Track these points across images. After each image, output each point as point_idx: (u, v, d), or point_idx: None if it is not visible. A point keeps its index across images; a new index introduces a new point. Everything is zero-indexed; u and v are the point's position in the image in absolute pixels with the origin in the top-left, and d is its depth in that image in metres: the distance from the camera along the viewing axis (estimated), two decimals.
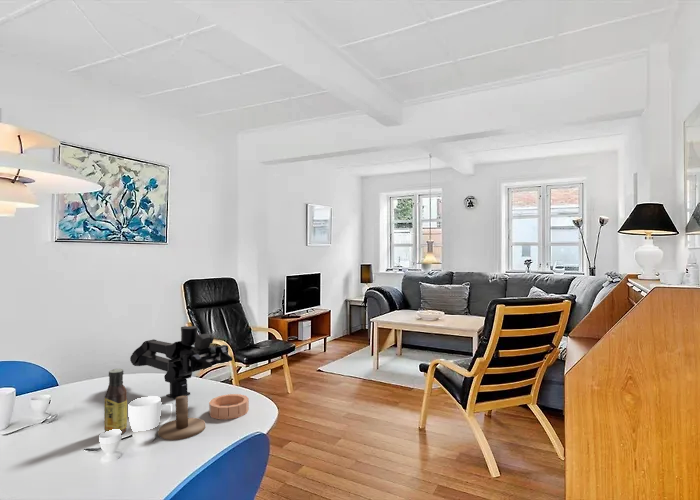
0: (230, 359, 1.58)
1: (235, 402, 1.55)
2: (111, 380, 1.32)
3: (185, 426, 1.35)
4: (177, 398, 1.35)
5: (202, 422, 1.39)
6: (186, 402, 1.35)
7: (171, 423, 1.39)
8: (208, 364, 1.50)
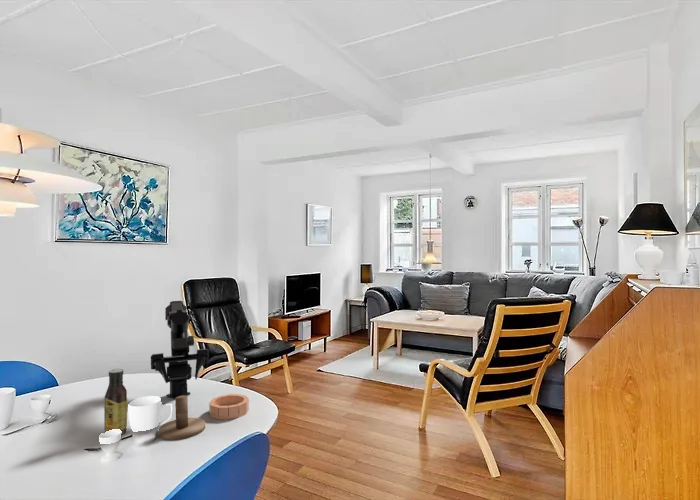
0: (195, 377, 1.46)
1: (235, 402, 1.55)
2: (111, 380, 1.32)
3: (185, 426, 1.35)
4: (177, 398, 1.35)
5: (202, 422, 1.39)
6: (186, 402, 1.35)
7: (171, 423, 1.39)
8: (165, 379, 1.42)
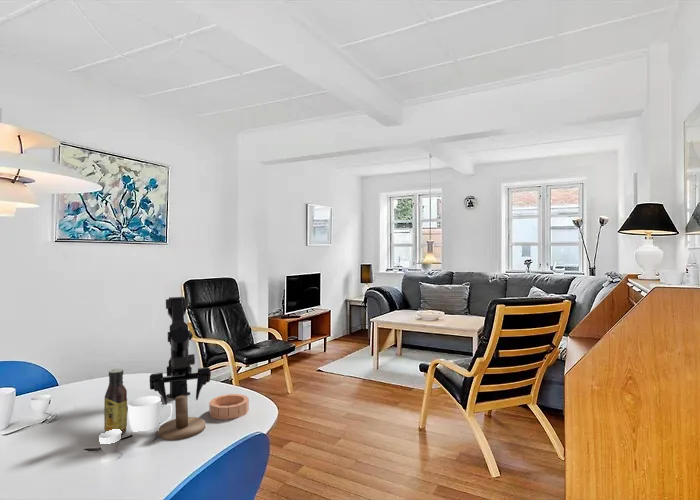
0: (196, 398, 1.39)
1: (235, 402, 1.55)
2: (111, 380, 1.32)
3: (185, 426, 1.35)
4: (177, 398, 1.35)
5: (202, 421, 1.39)
6: (186, 402, 1.35)
7: (170, 423, 1.38)
8: (164, 401, 1.36)
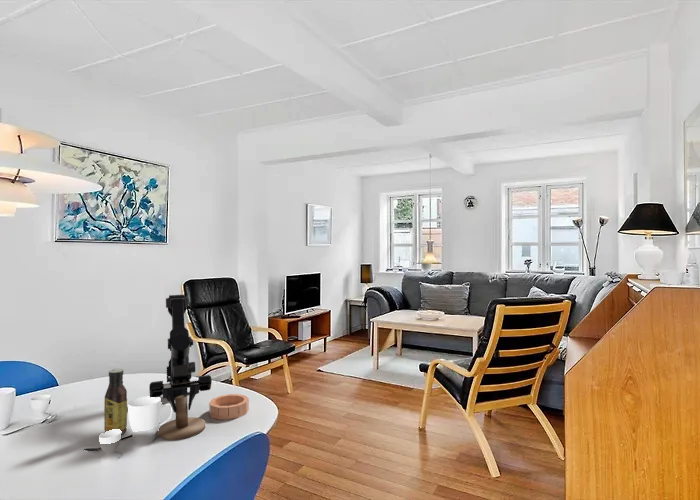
0: (188, 408, 1.36)
1: (235, 402, 1.55)
2: (111, 380, 1.32)
3: (185, 425, 1.35)
4: (177, 398, 1.35)
5: (201, 421, 1.40)
6: (186, 401, 1.36)
7: (170, 423, 1.38)
8: None
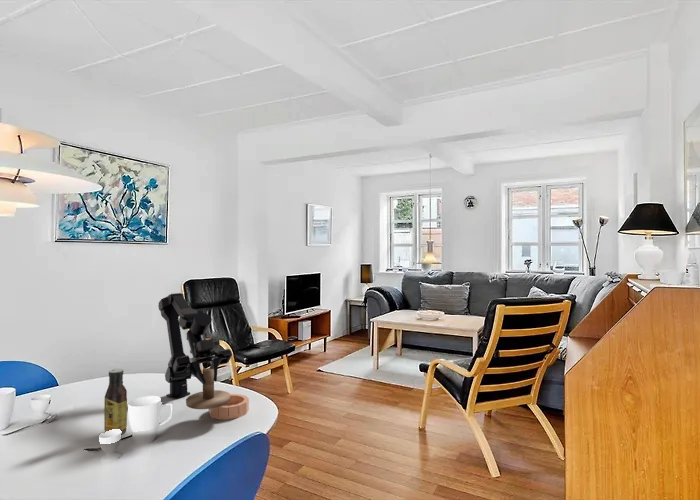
0: (214, 380, 1.43)
1: (235, 402, 1.55)
2: (111, 380, 1.32)
3: (213, 396, 1.42)
4: (205, 370, 1.41)
5: (224, 392, 1.47)
6: (213, 373, 1.42)
7: (194, 396, 1.43)
8: (202, 380, 1.40)
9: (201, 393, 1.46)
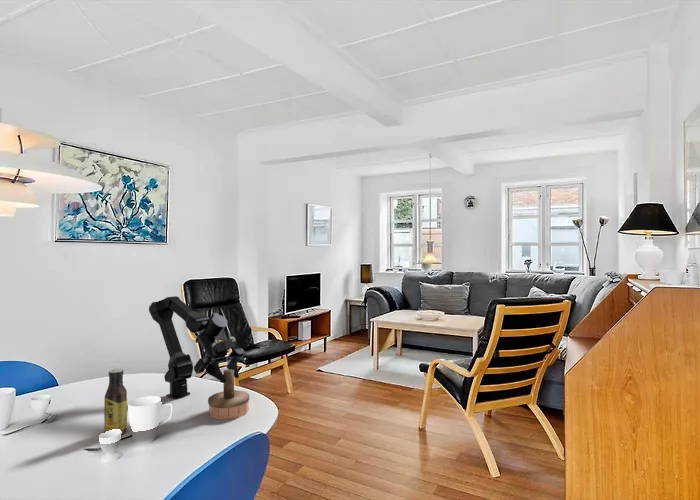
0: (236, 376, 1.52)
1: None
2: (111, 380, 1.32)
3: (233, 395, 1.51)
4: (226, 371, 1.49)
5: (240, 391, 1.56)
6: (233, 374, 1.51)
7: (213, 397, 1.50)
8: (222, 379, 1.47)
9: (218, 394, 1.53)
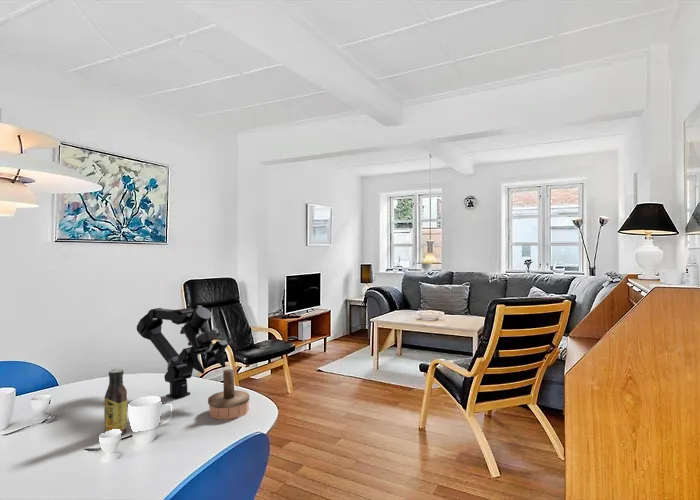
0: (223, 366, 1.59)
1: None
2: (111, 380, 1.32)
3: (233, 395, 1.51)
4: (226, 371, 1.49)
5: (240, 391, 1.56)
6: (233, 374, 1.51)
7: (213, 397, 1.50)
8: (201, 370, 1.51)
9: (218, 394, 1.53)
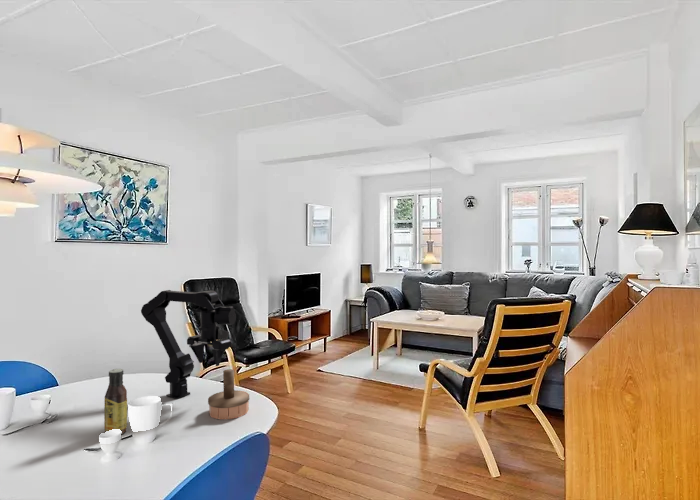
0: (201, 361, 1.66)
1: None
2: (111, 380, 1.32)
3: (233, 395, 1.51)
4: (226, 371, 1.49)
5: (240, 391, 1.56)
6: (233, 374, 1.51)
7: (213, 397, 1.50)
8: (218, 363, 1.62)
9: (218, 394, 1.53)
